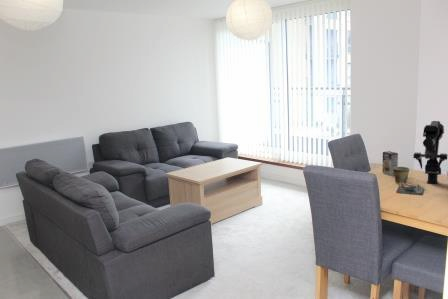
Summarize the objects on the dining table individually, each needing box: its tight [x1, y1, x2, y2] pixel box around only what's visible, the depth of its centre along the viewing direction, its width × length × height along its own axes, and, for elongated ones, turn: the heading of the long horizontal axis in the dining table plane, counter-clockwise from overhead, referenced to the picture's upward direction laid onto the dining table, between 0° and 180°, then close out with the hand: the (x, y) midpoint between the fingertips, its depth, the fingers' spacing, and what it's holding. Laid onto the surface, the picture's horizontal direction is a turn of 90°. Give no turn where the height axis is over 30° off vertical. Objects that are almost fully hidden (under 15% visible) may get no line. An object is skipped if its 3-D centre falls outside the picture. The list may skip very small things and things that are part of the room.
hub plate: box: [395, 183, 424, 196], centre depth 244 cm, size 14×14×3 cm
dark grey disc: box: [403, 178, 417, 189], centre depth 245 cm, size 9×7×5 cm
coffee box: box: [382, 150, 399, 176], centre depth 287 cm, size 9×6×16 cm
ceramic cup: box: [393, 166, 410, 185], centre depth 263 cm, size 13×10×10 cm
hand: (429, 169), depth 246 cm, fingers open, 9 cm apart
